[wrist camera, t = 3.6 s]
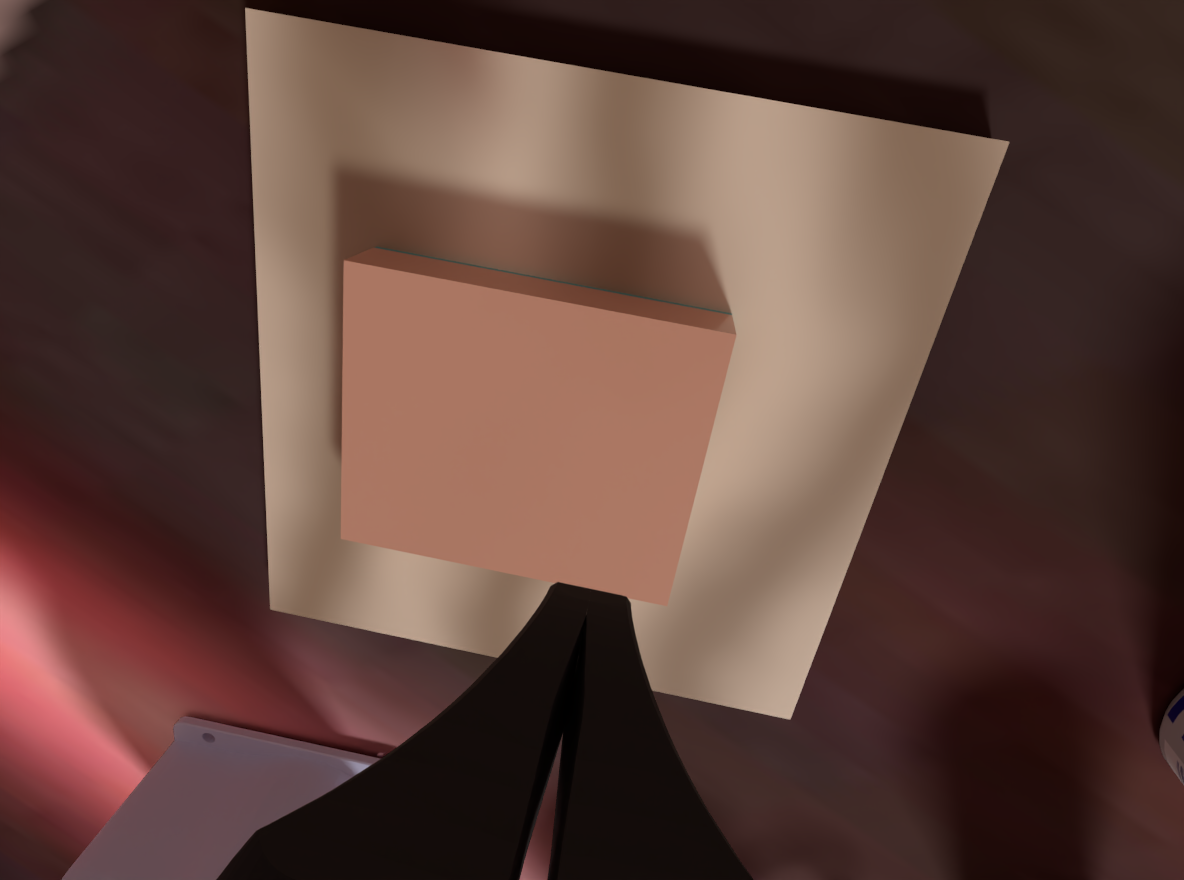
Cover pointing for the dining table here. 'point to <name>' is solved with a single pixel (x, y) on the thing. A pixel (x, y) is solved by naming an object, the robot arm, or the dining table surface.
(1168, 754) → the energy drink
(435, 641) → the board
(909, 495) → the dining table surface
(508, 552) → the tile
